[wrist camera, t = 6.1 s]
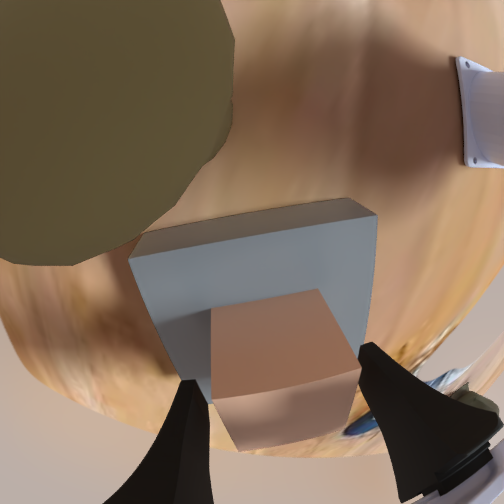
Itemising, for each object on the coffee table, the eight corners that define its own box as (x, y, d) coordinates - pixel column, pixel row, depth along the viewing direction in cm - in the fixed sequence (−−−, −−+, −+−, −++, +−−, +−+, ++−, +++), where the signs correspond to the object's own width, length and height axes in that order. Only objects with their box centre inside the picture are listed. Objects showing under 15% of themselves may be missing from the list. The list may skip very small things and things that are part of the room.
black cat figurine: (431, 405, 30) (434, 419, 34) (462, 458, 19) (459, 463, 23) (478, 366, 28) (475, 387, 32) (513, 414, 17) (502, 428, 21)
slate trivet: (349, 197, 14) (377, 215, 11) (342, 343, 19) (357, 372, 16) (144, 232, 13) (127, 258, 11) (196, 372, 18) (195, 405, 15)
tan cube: (316, 357, 15) (344, 428, 10) (231, 374, 14) (238, 451, 10) (317, 288, 12) (361, 367, 8) (211, 308, 12) (211, 399, 8)
